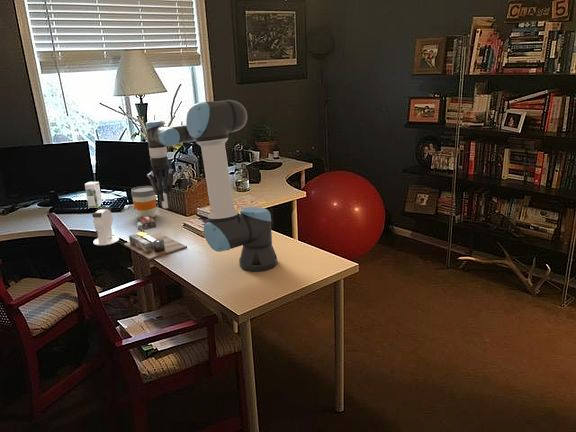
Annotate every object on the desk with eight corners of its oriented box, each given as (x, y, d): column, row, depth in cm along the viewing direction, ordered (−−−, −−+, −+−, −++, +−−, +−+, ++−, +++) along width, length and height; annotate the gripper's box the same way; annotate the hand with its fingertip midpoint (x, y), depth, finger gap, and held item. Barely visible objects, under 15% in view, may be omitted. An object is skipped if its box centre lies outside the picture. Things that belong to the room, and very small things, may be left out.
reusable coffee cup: (148, 211, 266) (145, 184, 261) (163, 214, 259) (160, 187, 254) (129, 217, 256) (125, 190, 252) (144, 221, 249) (141, 193, 244)
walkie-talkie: (133, 223, 249) (141, 234, 232) (132, 214, 247) (140, 226, 230) (151, 219, 253) (160, 231, 236) (150, 211, 251) (159, 222, 234)
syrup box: (88, 208, 274) (84, 183, 269) (93, 205, 279) (89, 181, 274) (97, 209, 273) (93, 184, 268) (103, 205, 278) (99, 181, 274)
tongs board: (187, 248, 213) (186, 238, 212) (149, 260, 202) (148, 250, 200) (160, 234, 230) (159, 226, 229) (124, 245, 219) (122, 236, 217)
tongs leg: (166, 249, 210) (165, 240, 208) (157, 252, 207) (156, 243, 205) (144, 238, 224) (143, 229, 222) (135, 240, 221) (134, 232, 220)
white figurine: (100, 235, 231) (95, 205, 227) (123, 235, 230) (119, 205, 226) (88, 245, 220) (83, 214, 215) (112, 245, 219) (107, 213, 214)
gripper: (167, 153, 221) (173, 203, 228) (141, 157, 213) (148, 209, 220) (176, 154, 216) (182, 205, 223) (149, 159, 207) (156, 212, 215)
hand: (165, 207), depth 221 cm, fingers closed
